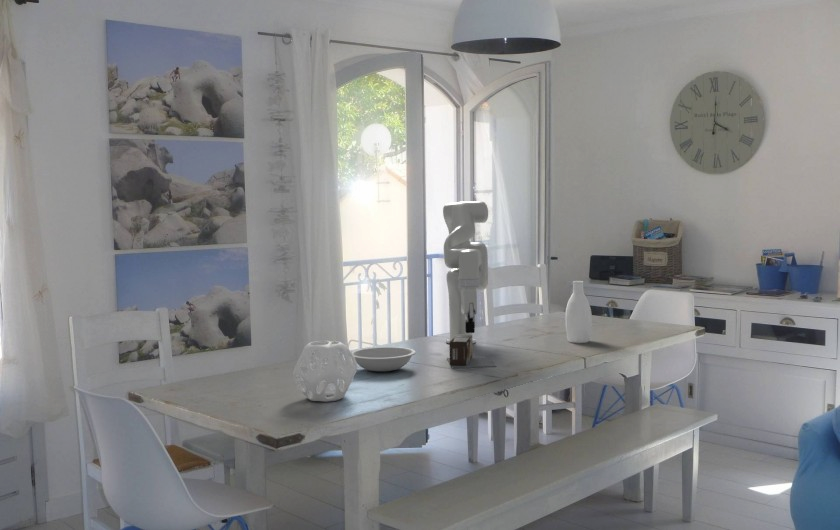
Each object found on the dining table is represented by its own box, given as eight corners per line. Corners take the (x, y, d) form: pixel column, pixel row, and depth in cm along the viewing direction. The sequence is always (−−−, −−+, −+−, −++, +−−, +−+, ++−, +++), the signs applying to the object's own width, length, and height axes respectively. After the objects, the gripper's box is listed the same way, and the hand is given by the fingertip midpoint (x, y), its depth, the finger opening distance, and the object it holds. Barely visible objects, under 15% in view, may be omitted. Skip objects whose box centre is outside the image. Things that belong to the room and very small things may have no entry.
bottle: (590, 344, 353) (589, 282, 351) (563, 343, 357) (562, 282, 355) (593, 339, 364) (593, 280, 362) (567, 338, 367) (566, 279, 365)
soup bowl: (341, 367, 314) (341, 349, 314) (403, 362, 323) (402, 344, 322) (360, 379, 292) (360, 360, 291) (426, 373, 300) (425, 354, 300)
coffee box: (456, 334, 326) (449, 340, 310) (472, 334, 325) (466, 340, 309) (456, 357, 327) (449, 365, 311) (473, 358, 325) (466, 366, 310)
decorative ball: (288, 406, 255) (287, 349, 254) (298, 392, 275) (296, 338, 274) (355, 405, 255) (354, 347, 254) (360, 390, 275) (358, 337, 274)
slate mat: (446, 359, 326) (446, 358, 326) (488, 357, 327) (488, 356, 327) (452, 368, 308) (452, 367, 308) (496, 366, 309) (496, 365, 309)
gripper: (456, 281, 324) (457, 330, 325) (461, 285, 309) (462, 336, 310) (476, 281, 324) (477, 329, 326) (482, 285, 309) (483, 335, 311)
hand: (470, 332), depth 318 cm, fingers closed
